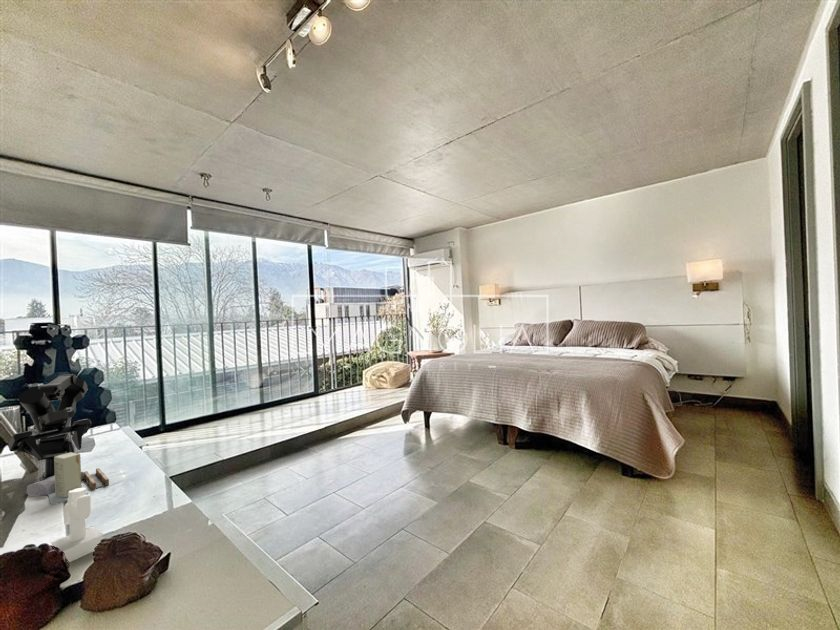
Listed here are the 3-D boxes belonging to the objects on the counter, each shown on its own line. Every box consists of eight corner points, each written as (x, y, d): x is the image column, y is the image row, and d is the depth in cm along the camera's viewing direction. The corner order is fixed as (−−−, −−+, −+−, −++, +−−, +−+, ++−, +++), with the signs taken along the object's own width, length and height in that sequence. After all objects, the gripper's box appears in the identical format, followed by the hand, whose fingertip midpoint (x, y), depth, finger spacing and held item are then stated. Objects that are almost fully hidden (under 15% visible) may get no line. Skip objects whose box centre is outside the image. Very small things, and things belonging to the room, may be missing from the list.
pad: (48, 495, 112) (48, 494, 112) (82, 485, 118) (82, 484, 118) (52, 505, 105) (52, 503, 105) (88, 494, 112) (88, 492, 112)
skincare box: (82, 492, 112) (81, 453, 113) (64, 498, 109) (63, 458, 109) (72, 488, 115) (71, 451, 115) (54, 494, 111) (53, 456, 111)
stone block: (22, 501, 112) (49, 495, 111) (20, 486, 113) (47, 480, 112) (63, 485, 124) (88, 480, 123) (61, 472, 124) (86, 466, 124)
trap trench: (83, 477, 125) (83, 471, 125) (99, 473, 128) (98, 467, 128) (92, 489, 115) (92, 483, 115) (108, 485, 118) (108, 479, 118)
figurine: (89, 539, 87) (88, 479, 88) (106, 550, 83) (105, 486, 83) (48, 557, 81) (47, 492, 81) (64, 570, 76) (63, 501, 77)
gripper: (11, 408, 108) (28, 448, 103) (88, 395, 125) (106, 429, 120) (1, 431, 111) (17, 471, 106) (77, 416, 128) (94, 449, 123)
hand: (61, 453), depth 114 cm, fingers open, 9 cm apart
